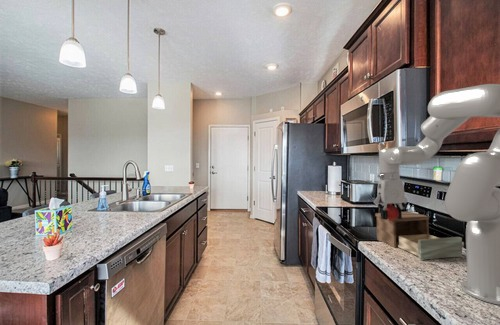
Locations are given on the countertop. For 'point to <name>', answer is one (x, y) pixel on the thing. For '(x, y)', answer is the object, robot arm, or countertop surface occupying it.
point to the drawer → (431, 246)
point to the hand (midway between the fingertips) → (391, 218)
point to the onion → (392, 212)
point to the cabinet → (401, 227)
